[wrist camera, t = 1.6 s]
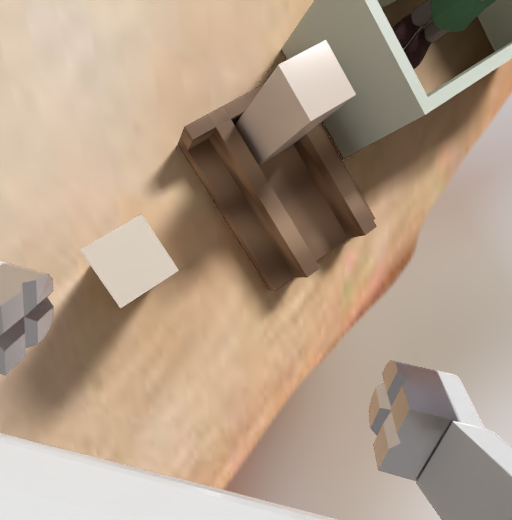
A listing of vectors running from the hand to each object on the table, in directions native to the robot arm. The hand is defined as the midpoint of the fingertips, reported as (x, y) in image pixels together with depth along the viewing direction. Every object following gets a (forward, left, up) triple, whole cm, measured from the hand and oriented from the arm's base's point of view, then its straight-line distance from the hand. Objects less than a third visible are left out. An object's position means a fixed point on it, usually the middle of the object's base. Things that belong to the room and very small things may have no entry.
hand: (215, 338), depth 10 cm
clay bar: (-3, 0, -27) cm, 27 cm away
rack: (-2, +16, -27) cm, 31 cm away
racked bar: (-6, +16, -26) cm, 31 cm away
